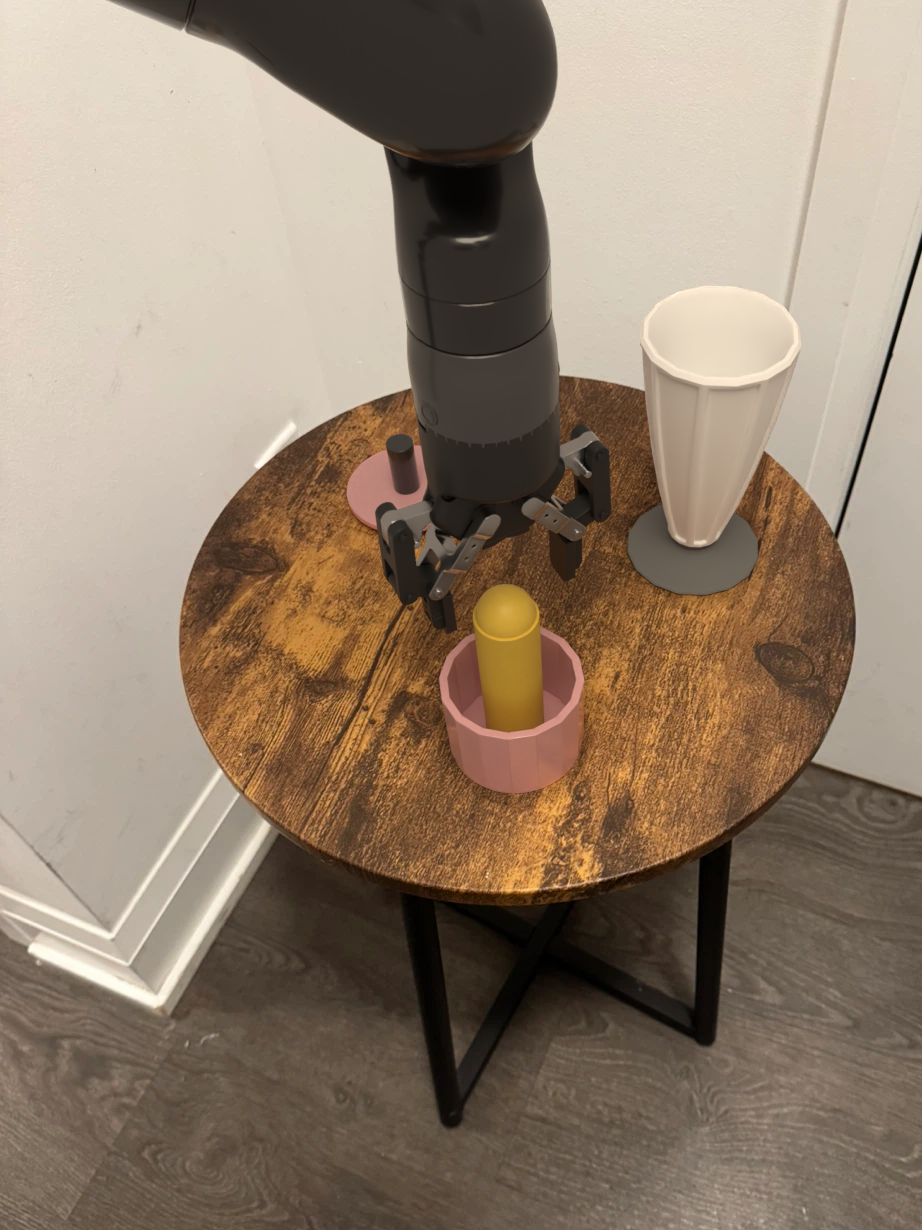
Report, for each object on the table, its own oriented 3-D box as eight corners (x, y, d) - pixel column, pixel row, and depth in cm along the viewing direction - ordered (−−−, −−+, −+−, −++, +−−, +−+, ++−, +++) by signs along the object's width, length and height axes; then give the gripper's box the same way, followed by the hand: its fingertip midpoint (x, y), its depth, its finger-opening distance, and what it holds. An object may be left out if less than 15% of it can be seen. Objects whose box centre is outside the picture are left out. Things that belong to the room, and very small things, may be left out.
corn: (491, 761, 78) (474, 625, 65) (484, 713, 81) (466, 573, 67) (548, 752, 78) (543, 615, 65) (540, 705, 81) (532, 564, 68)
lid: (351, 546, 92) (338, 494, 87) (345, 462, 98) (333, 409, 93) (475, 530, 92) (469, 477, 87) (461, 448, 99) (455, 394, 94)
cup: (785, 564, 89) (837, 348, 71) (672, 615, 86) (696, 404, 68) (710, 484, 95) (741, 265, 77) (602, 529, 92) (608, 313, 74)
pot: (458, 803, 77) (447, 748, 70) (443, 693, 82) (433, 633, 76) (593, 782, 77) (595, 726, 71) (570, 675, 83) (569, 614, 77)
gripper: (569, 308, 57) (571, 521, 70) (329, 395, 53) (379, 602, 67) (642, 383, 53) (630, 593, 66) (389, 483, 49) (430, 683, 63)
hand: (504, 597), depth 67 cm, fingers open, 8 cm apart
